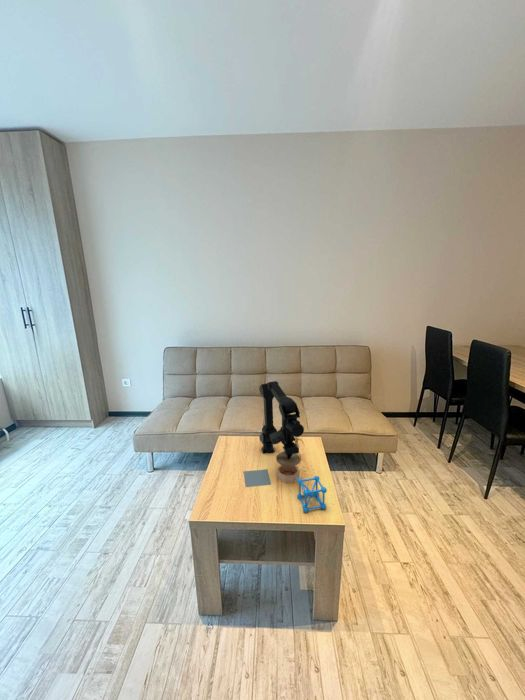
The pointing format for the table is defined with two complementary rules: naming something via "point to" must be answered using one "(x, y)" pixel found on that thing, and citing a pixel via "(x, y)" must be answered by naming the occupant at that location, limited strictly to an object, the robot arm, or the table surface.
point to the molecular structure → (311, 493)
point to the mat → (257, 478)
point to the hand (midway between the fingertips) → (287, 456)
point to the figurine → (298, 445)
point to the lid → (284, 461)
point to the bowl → (288, 473)
